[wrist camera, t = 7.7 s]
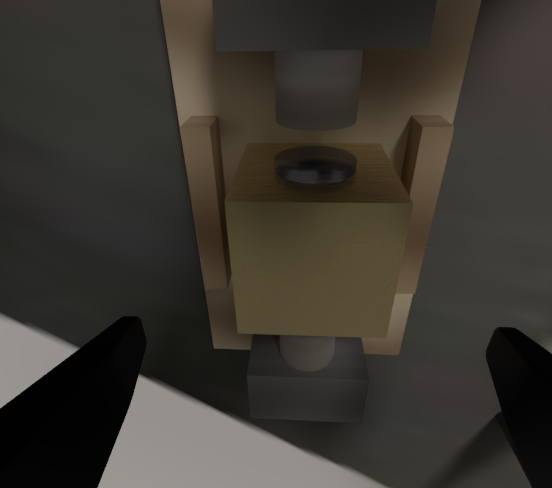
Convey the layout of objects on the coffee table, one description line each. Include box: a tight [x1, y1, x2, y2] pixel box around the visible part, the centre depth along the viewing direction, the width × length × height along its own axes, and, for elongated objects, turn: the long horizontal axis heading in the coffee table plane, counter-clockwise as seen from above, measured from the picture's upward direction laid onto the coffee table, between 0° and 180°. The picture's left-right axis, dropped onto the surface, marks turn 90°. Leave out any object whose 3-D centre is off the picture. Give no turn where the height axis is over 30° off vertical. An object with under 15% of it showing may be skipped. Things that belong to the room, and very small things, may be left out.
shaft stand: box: [160, 0, 482, 423], centre depth 14 cm, size 18×10×6 cm, turn 1°
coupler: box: [224, 143, 413, 338], centre depth 13 cm, size 5×6×5 cm
